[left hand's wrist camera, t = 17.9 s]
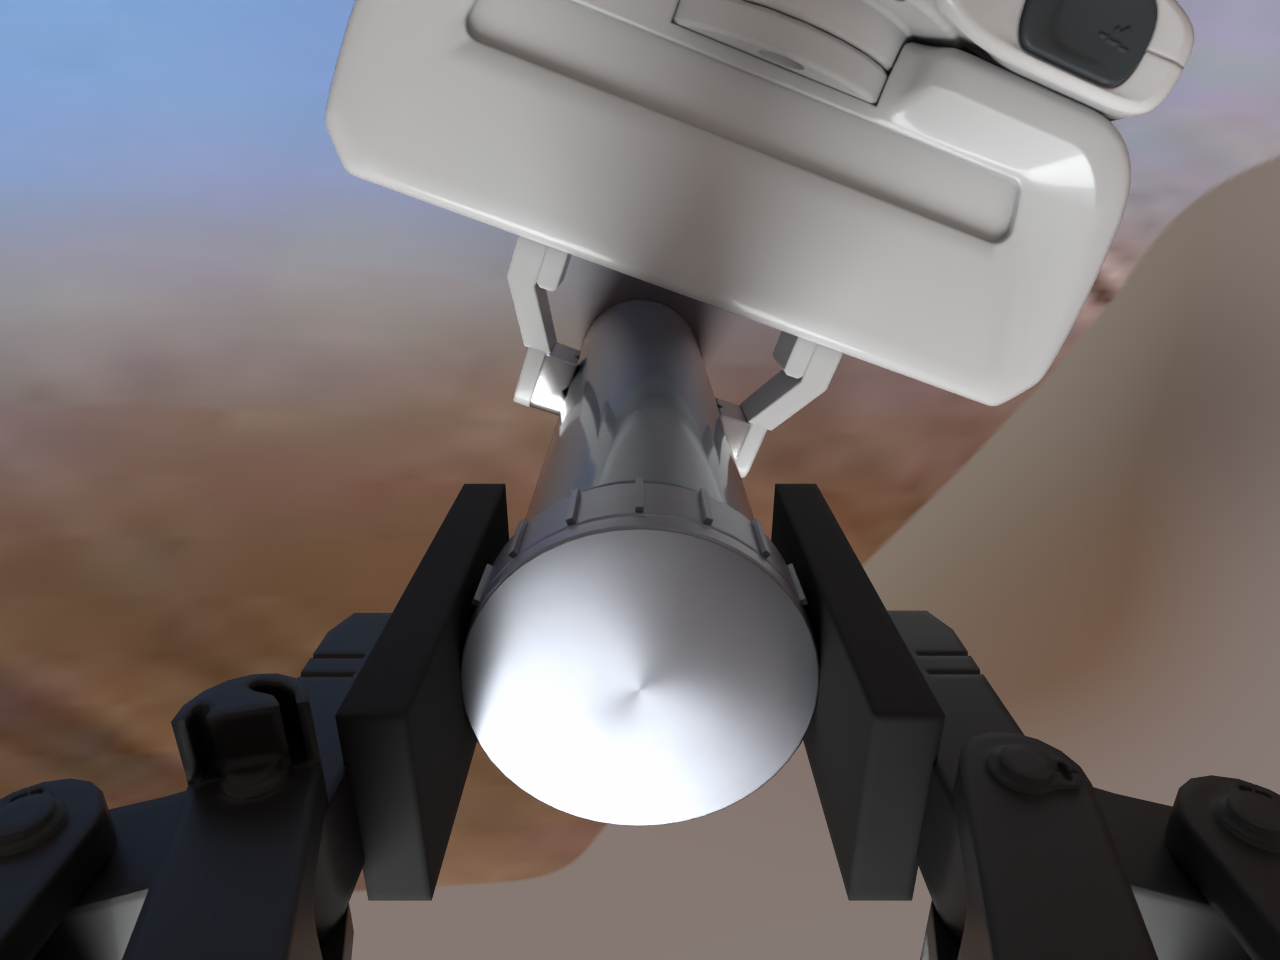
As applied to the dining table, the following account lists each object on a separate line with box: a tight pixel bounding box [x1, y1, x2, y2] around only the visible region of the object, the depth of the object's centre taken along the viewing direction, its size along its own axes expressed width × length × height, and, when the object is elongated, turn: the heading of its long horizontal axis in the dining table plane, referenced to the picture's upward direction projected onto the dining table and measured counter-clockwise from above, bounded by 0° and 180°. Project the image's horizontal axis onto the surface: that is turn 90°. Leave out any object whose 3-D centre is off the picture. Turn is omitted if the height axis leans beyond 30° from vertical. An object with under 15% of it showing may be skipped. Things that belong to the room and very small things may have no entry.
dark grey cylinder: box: [525, 300, 754, 522], centre depth 20 cm, size 4×4×19 cm
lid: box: [460, 478, 820, 826], centre depth 11 cm, size 5×5×2 cm
